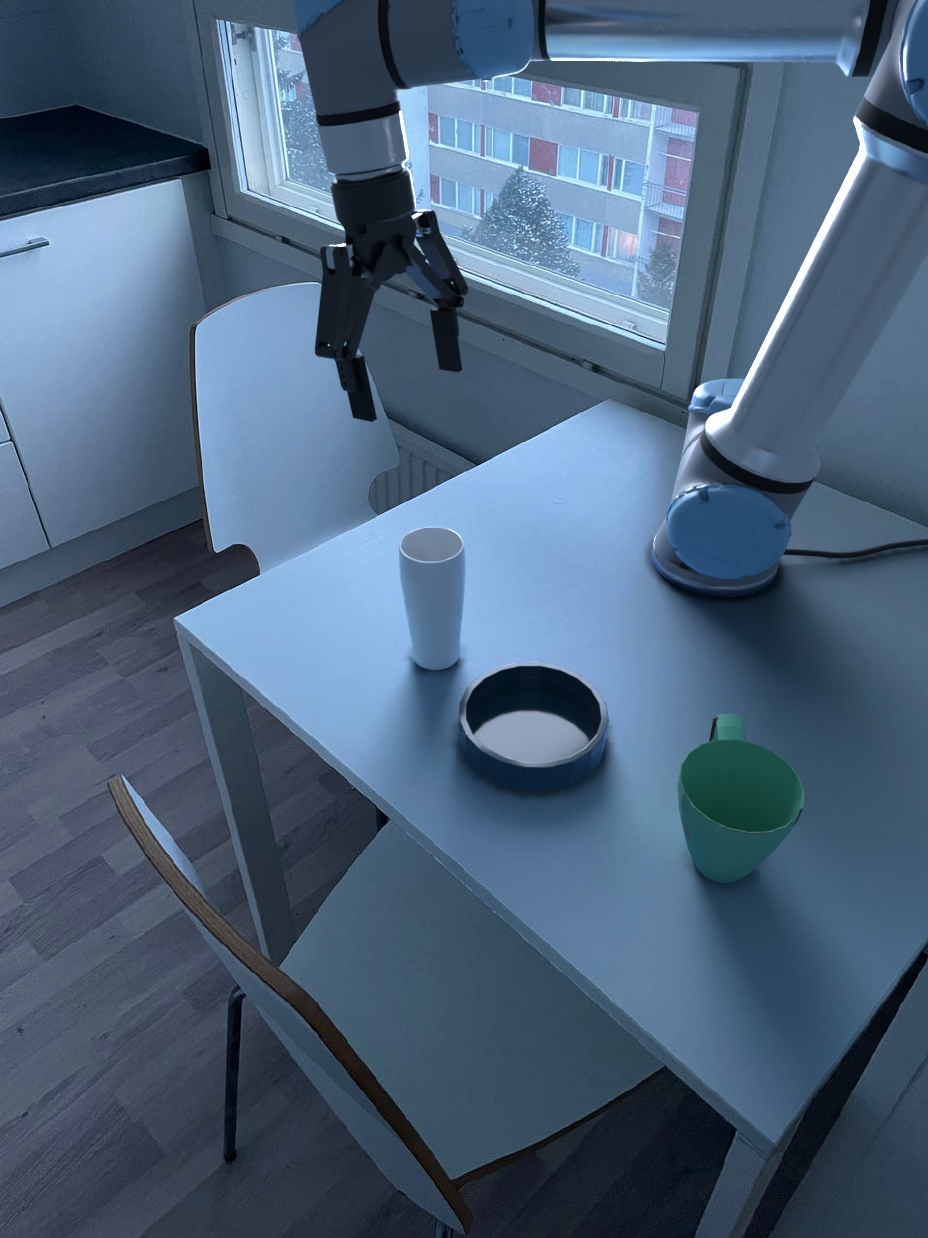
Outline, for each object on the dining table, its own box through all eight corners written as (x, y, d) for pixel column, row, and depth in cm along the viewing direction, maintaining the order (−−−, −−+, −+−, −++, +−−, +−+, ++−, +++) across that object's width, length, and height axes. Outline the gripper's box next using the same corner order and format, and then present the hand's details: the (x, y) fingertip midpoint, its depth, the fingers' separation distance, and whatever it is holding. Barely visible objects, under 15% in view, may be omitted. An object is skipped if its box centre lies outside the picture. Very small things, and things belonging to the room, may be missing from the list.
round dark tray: (597, 687, 94) (600, 661, 92) (612, 793, 83) (616, 768, 81) (461, 686, 95) (460, 661, 92) (458, 793, 83) (457, 767, 81)
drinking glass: (445, 685, 95) (441, 571, 85) (393, 663, 98) (384, 550, 88) (478, 649, 99) (478, 537, 90) (427, 629, 102) (422, 518, 92)
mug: (786, 915, 73) (815, 839, 67) (665, 902, 74) (682, 827, 68) (763, 778, 84) (786, 703, 78) (658, 769, 85) (672, 694, 79)
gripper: (427, 142, 90) (457, 347, 103) (237, 205, 76) (298, 435, 88) (485, 140, 86) (509, 355, 98) (295, 206, 72) (351, 448, 84)
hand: (409, 393), depth 93 cm, fingers open, 13 cm apart
